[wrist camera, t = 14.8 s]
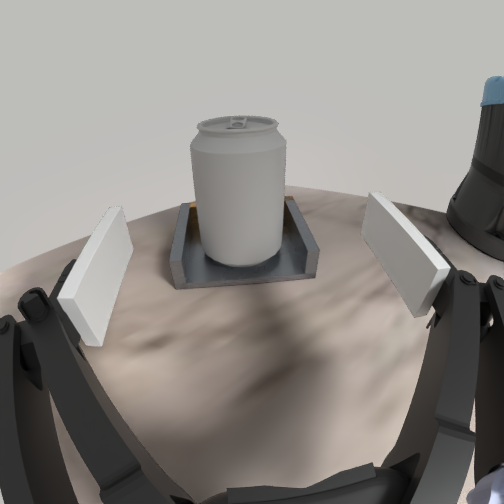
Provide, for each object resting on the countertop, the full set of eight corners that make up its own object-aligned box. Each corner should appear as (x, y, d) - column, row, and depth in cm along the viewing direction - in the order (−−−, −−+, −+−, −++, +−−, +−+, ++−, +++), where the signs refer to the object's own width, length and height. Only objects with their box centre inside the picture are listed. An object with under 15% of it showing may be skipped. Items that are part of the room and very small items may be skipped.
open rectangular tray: (290, 219, 32) (292, 196, 31) (315, 277, 24) (319, 250, 23) (185, 227, 31) (181, 203, 30) (175, 289, 23) (168, 261, 22)
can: (196, 272, 24) (176, 132, 17) (208, 226, 30) (198, 114, 23) (284, 273, 24) (292, 129, 17) (279, 226, 30) (283, 112, 23)
